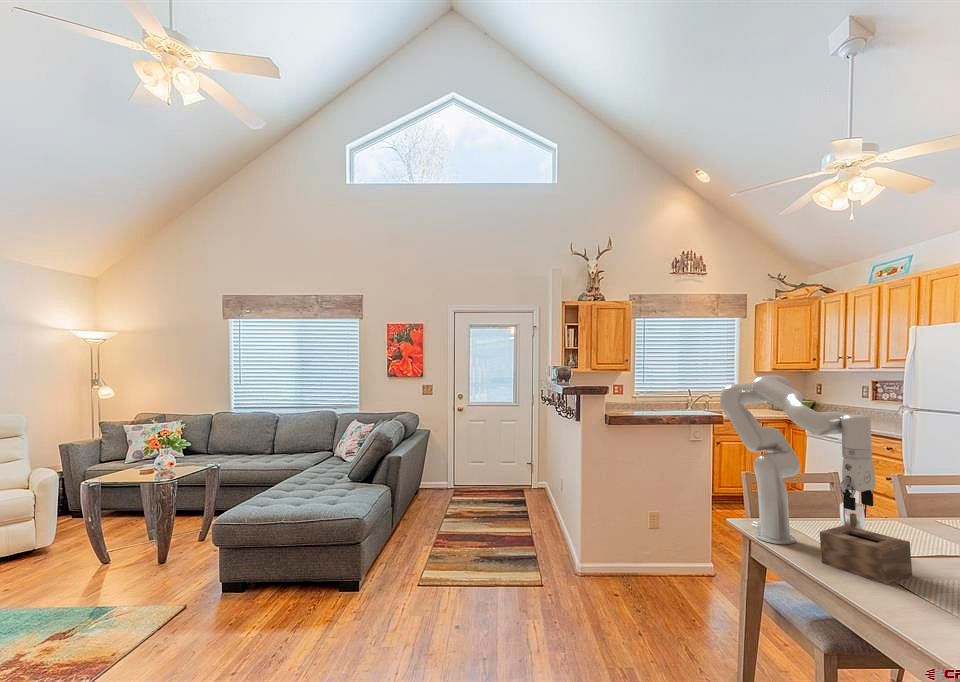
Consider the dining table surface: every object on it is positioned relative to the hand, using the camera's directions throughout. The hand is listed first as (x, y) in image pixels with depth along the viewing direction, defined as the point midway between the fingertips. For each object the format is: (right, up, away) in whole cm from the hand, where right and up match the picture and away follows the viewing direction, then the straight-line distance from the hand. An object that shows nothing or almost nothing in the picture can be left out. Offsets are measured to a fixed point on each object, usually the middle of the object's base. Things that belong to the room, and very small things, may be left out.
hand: (858, 507), depth 154 cm
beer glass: (+11, -20, +16) cm, 28 cm away
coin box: (+1, -19, -2) cm, 19 cm away
